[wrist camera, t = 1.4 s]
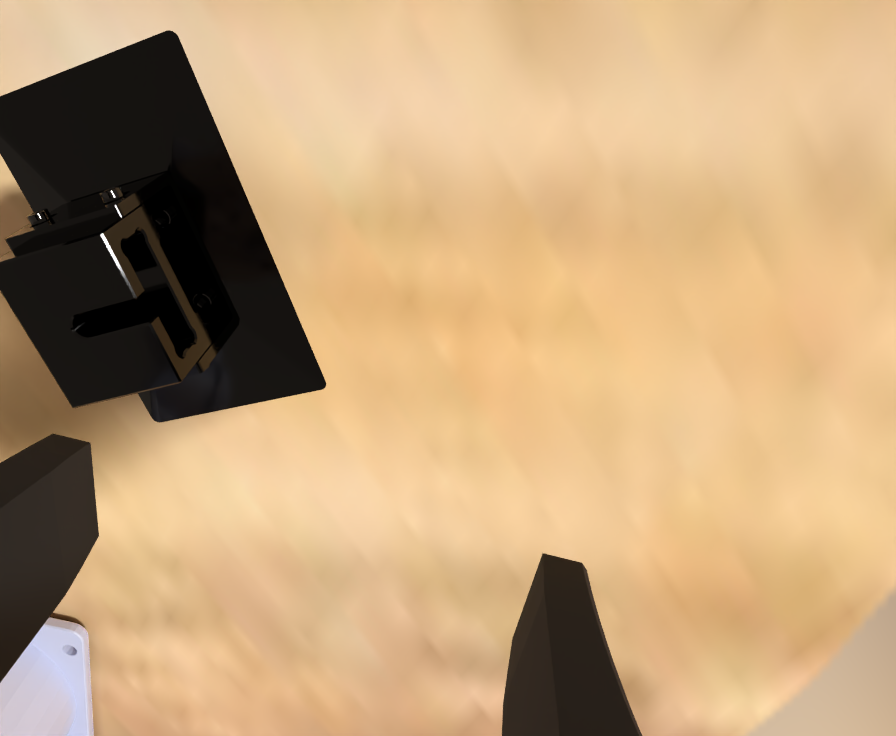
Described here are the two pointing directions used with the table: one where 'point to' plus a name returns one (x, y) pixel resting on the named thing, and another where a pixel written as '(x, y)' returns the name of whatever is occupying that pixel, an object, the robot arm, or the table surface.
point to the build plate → (143, 243)
